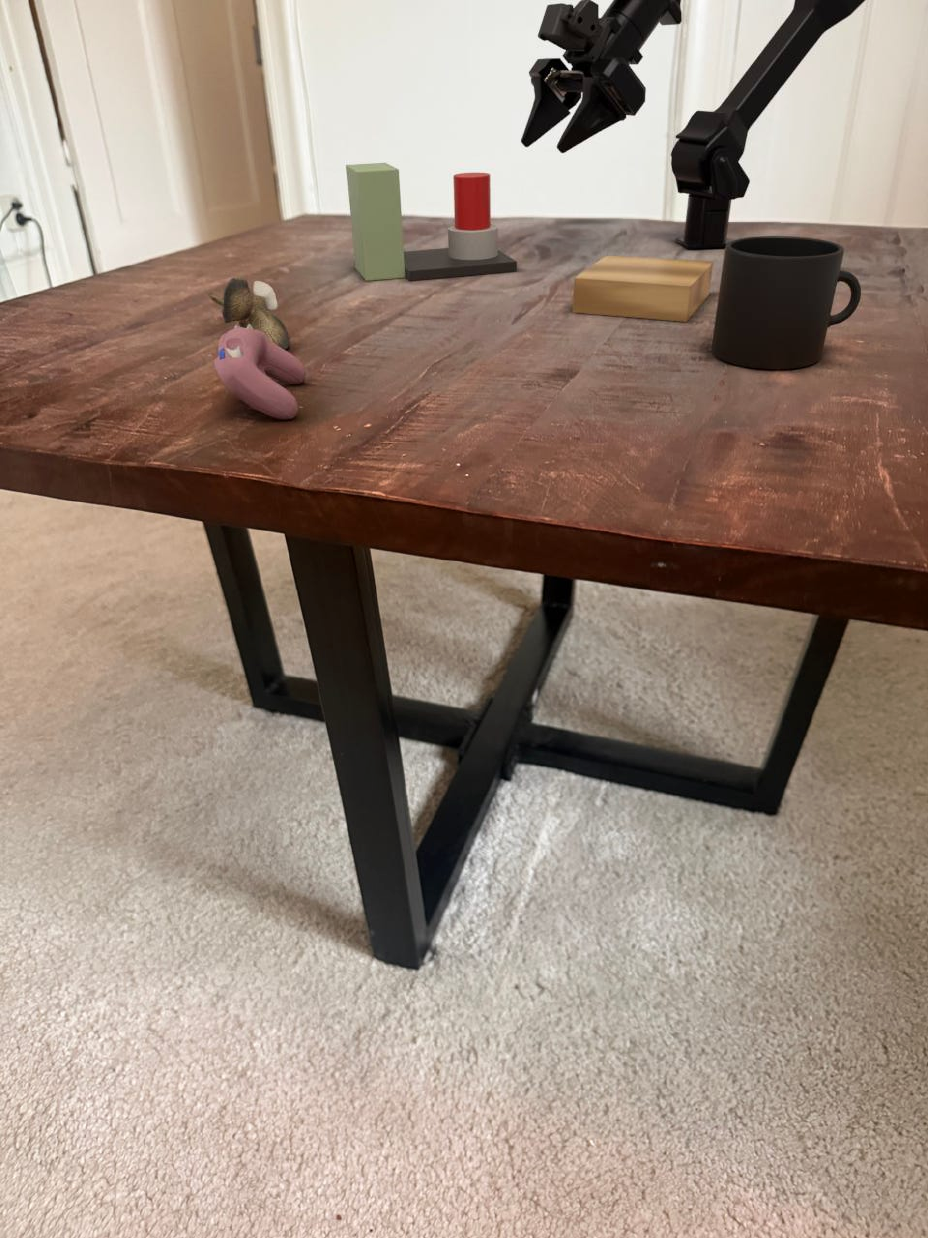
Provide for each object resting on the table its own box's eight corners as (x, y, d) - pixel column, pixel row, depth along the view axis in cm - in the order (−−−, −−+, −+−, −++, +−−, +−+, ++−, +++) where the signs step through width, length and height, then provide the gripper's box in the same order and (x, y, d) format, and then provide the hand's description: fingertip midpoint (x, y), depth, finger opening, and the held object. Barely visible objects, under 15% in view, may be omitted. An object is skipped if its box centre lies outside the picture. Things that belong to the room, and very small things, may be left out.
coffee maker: (489, 253, 116) (488, 154, 109) (517, 271, 106) (518, 163, 99) (352, 265, 112) (343, 163, 105) (369, 284, 102) (359, 173, 95)
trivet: (604, 287, 98) (606, 255, 96) (708, 294, 94) (713, 261, 92) (572, 312, 89) (574, 277, 87) (686, 322, 85) (690, 285, 83)
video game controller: (267, 400, 73) (216, 328, 69) (311, 374, 72) (262, 300, 69) (253, 443, 65) (195, 365, 61) (302, 415, 64) (247, 333, 60)
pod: (453, 224, 109) (451, 173, 106) (488, 223, 110) (488, 171, 106) (456, 231, 106) (455, 177, 102) (492, 229, 106) (492, 176, 102)
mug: (867, 369, 71) (895, 255, 66) (724, 371, 72) (741, 258, 66) (829, 337, 79) (852, 233, 74) (701, 340, 79) (714, 236, 74)
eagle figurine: (190, 329, 83) (206, 333, 75) (216, 259, 82) (235, 256, 74) (263, 362, 87) (285, 369, 79) (288, 296, 86) (313, 296, 78)
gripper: (542, -23, 101) (463, 94, 104) (628, -38, 86) (534, 98, 89) (597, 51, 107) (522, 159, 110) (685, 49, 93) (596, 173, 96)
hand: (540, 147), depth 101 cm, fingers open, 9 cm apart
